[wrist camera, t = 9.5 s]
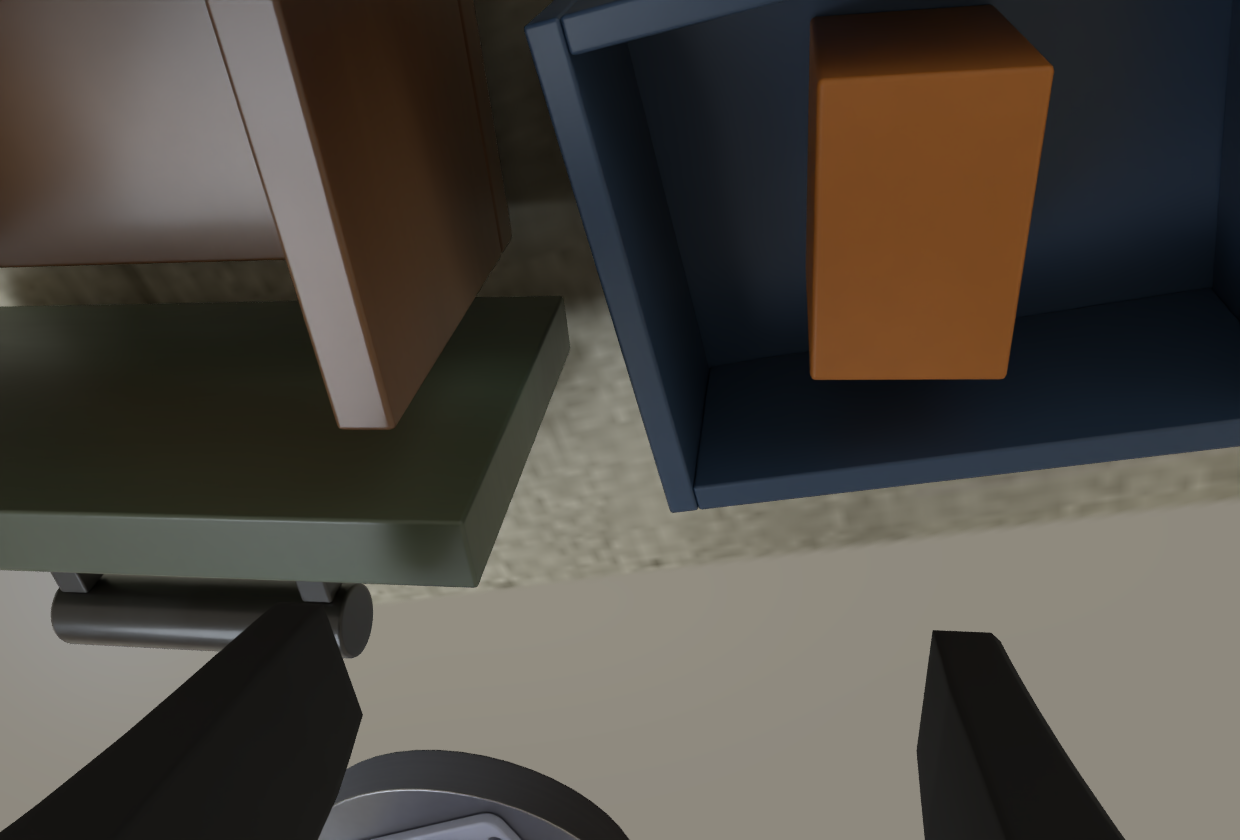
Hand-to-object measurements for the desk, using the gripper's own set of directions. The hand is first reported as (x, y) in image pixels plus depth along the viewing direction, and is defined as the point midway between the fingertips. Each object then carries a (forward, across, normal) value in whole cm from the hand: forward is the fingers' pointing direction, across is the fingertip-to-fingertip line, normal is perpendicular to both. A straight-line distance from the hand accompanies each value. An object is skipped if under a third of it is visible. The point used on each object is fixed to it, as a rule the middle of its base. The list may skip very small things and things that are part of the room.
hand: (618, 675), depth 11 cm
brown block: (+9, -4, -3) cm, 10 cm away
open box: (+9, -4, -3) cm, 11 cm away
